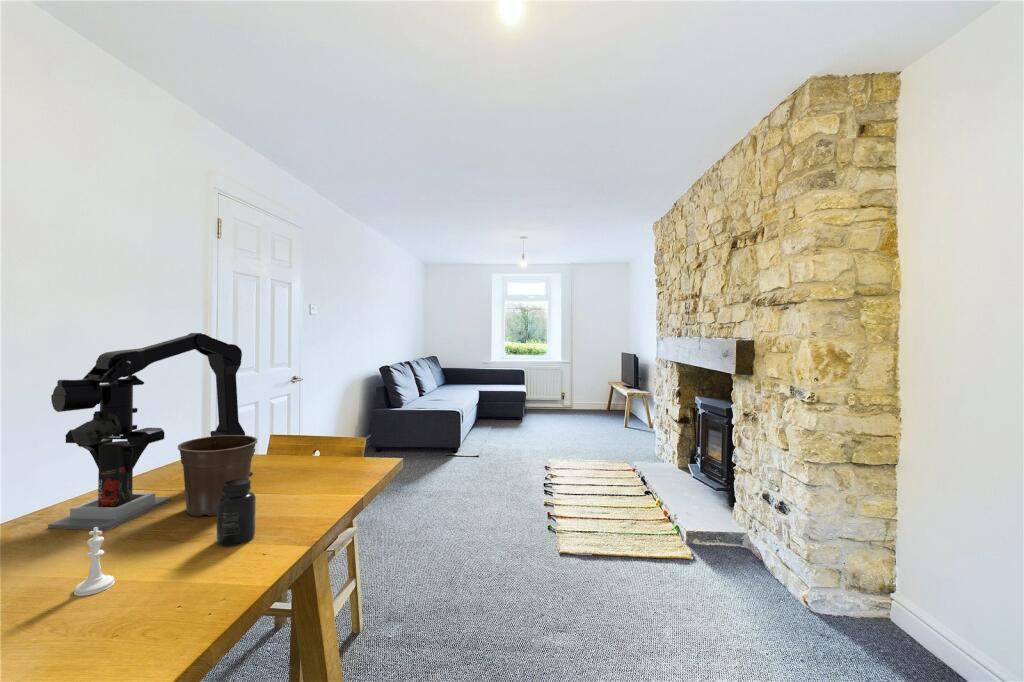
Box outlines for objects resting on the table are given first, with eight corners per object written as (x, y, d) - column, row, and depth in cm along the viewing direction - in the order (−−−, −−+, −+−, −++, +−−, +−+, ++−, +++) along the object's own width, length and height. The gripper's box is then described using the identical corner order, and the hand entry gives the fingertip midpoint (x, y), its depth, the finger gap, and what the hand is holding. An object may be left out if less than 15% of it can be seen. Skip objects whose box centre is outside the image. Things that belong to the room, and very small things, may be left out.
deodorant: (139, 503, 104) (139, 441, 104) (113, 513, 98) (114, 447, 98) (117, 501, 105) (117, 440, 105) (90, 511, 99) (91, 446, 99)
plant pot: (270, 502, 110) (272, 439, 110) (202, 526, 95) (204, 454, 95) (230, 491, 117) (231, 432, 117) (161, 512, 102) (162, 444, 102)
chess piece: (91, 579, 74) (92, 521, 74) (122, 578, 75) (123, 521, 75) (64, 596, 70) (65, 534, 69) (97, 595, 70) (98, 534, 70)
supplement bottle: (262, 535, 92) (264, 479, 92) (232, 549, 86) (234, 489, 86) (239, 529, 94) (240, 475, 94) (208, 543, 88) (209, 484, 88)
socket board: (171, 500, 110) (171, 488, 110) (107, 529, 93) (107, 515, 93) (120, 498, 110) (120, 487, 110) (48, 528, 93) (48, 514, 93)
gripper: (39, 410, 93) (38, 482, 94) (124, 412, 93) (123, 484, 93) (90, 402, 105) (89, 466, 105) (166, 404, 104) (165, 468, 104)
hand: (115, 471), depth 101 cm, fingers closed on deodorant, 6 cm apart
